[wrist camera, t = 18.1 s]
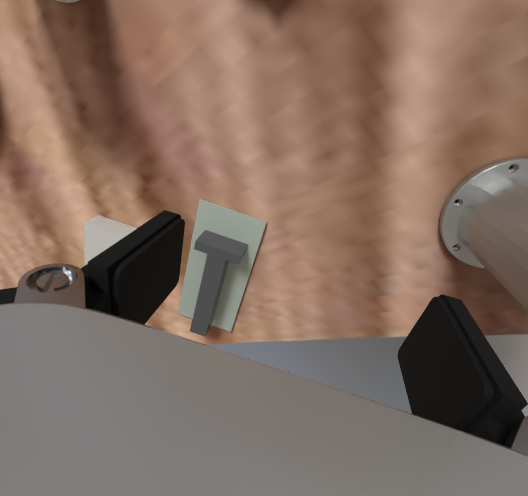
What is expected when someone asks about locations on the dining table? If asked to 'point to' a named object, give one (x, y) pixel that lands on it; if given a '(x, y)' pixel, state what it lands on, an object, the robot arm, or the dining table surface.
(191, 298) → the mat
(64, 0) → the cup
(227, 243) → the grey t-shaped block
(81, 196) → the dining table surface
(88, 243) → the tile
